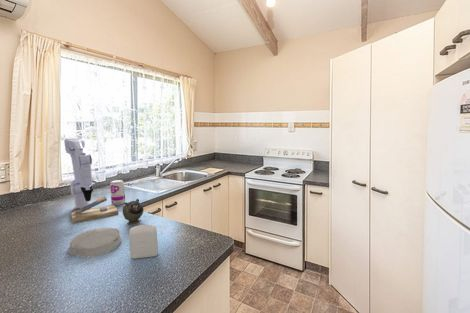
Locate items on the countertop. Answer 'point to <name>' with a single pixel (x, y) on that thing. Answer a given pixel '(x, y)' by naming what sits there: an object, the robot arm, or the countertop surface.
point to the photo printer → (143, 241)
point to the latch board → (93, 213)
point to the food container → (95, 242)
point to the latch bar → (92, 204)
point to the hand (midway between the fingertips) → (87, 199)
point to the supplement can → (117, 192)
